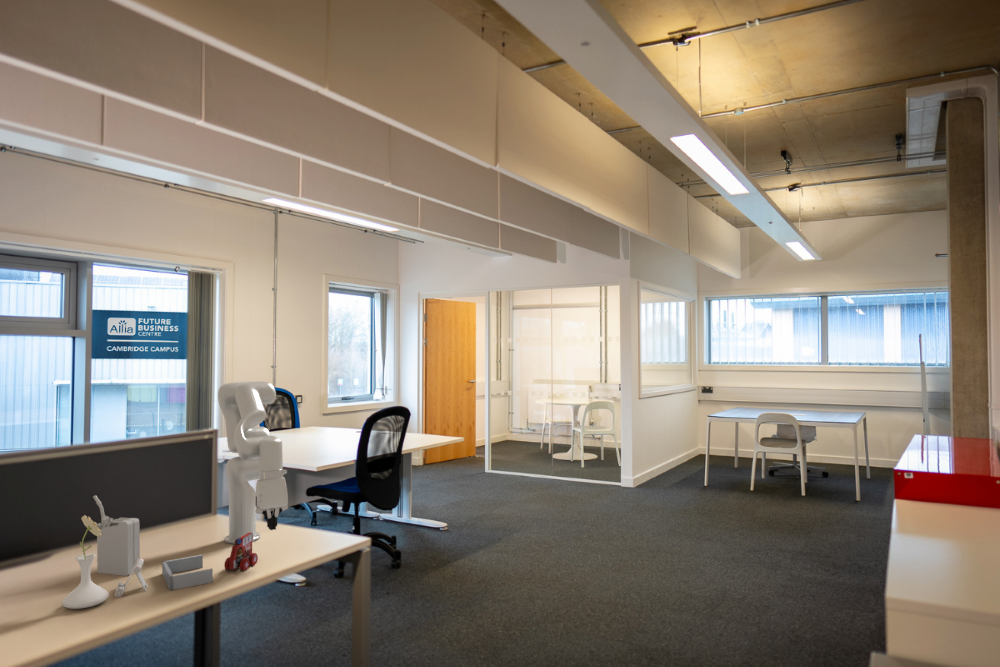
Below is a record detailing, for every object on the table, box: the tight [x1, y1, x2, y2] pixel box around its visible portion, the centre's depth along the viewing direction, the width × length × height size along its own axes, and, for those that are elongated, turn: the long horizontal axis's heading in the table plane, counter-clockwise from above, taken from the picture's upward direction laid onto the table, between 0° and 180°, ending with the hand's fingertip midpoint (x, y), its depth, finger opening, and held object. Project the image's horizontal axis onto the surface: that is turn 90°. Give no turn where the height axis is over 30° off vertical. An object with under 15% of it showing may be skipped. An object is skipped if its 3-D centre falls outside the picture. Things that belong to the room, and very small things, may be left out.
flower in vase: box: [61, 514, 110, 610], centre depth 191 cm, size 13×11×25 cm
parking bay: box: [161, 554, 214, 591], centre depth 211 cm, size 18×12×4 cm, turn 34°
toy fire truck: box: [223, 533, 259, 572], centre depth 220 cm, size 7×12×10 cm, turn 170°
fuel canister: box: [92, 495, 141, 577], centre depth 218 cm, size 15×5×25 cm, turn 73°
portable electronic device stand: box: [114, 557, 148, 598], centre depth 200 cm, size 9×8×8 cm
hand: (272, 528), depth 225 cm, fingers closed
